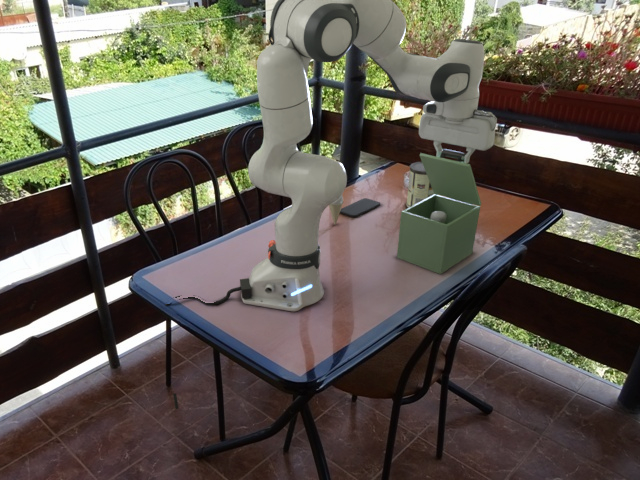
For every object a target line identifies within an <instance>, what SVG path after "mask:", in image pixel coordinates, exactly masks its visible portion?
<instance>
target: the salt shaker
mask: <svg viewBox="0 0 640 480" xmlns="http://www.w3.org/2000/svg"><path fill="white" fill-rule="evenodd" d="M446 218H447V215H446V213H445V212H442V211H434V212H433V213H432V214H431V217H430V219H431V220H435V221H438V222H441V223H443V222H445V221H446Z"/></svg>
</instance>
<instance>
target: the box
mask: <svg viewBox="0 0 640 480" xmlns="http://www.w3.org/2000/svg"><path fill="white" fill-rule="evenodd" d="M434 211H442V212H445V213H446V215H447V218H446V221H445V222H443V223H441V222H438V221H435V220H431V219H430V217H431V214H432V213H433V212H434ZM480 212H481V206H478V205H474V204H469V203H465V202H461V201H458V200H454V199H451V198H449V197H445V196H441V195H436V194H434V195H432V196H430V197H428V198H426V199H424V200H422V201H420V202H419V203H417V204H415V205H413V206H411V207H409V208H408V207H406V208H405V209H404V210H401V211H400V221H399V231H398V232H399V234H398V241H397V251H396V258H397V259H399V260H402V261H405V262H407V263H410V264H412V265H415V266H418V267H420V268H424V269H425V270H428V271H431V272H433V273H436V274H439V275H442V274H443V273H445V272H446V271H448V270H450V269H451V268H453V267H454V266H455V265H457V264H459V263H460V262H462V261H463V260H465V259H466V258H467V257H469V256H471V255H472V254H473V252H474V245H475V241H476V235H477V229H478V223H479V218H480Z"/></svg>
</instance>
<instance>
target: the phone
mask: <svg viewBox="0 0 640 480" xmlns="http://www.w3.org/2000/svg"><path fill="white" fill-rule="evenodd" d="M379 206H381V202H380V201H377V200H374V199H370V198H366V197H365V198H361V199H360V200H357V201H355V202H353V203H351V204H348V205H347V206H344V207H341V210H340V213H339V214H343V215H345V216H348V217H350V218H351V217H352V218H357V217H360V216H361V215H363V214H365V213H367V212H370V211H371V210H373V209H375V208H377V207H379Z"/></svg>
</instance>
